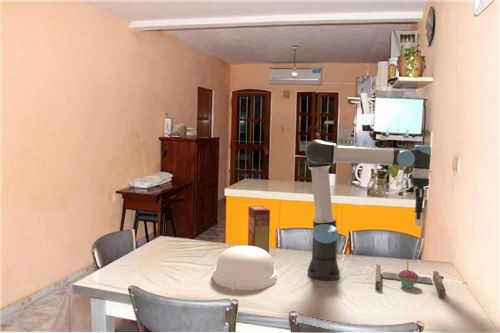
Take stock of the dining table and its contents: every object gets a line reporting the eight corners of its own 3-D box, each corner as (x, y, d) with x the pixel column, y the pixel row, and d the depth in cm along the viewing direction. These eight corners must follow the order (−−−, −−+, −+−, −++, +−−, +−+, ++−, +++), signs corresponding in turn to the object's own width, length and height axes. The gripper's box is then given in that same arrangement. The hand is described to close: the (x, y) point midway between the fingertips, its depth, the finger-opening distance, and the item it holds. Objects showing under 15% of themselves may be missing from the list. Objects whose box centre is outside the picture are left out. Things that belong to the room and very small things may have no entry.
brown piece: (375, 289, 185) (375, 280, 184) (376, 272, 207) (376, 264, 207) (444, 299, 176) (445, 289, 176) (437, 279, 199) (438, 271, 199)
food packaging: (246, 248, 242) (248, 205, 240) (262, 247, 244) (263, 205, 242) (253, 255, 229) (254, 210, 227) (269, 254, 232) (271, 209, 229)
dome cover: (227, 263, 215) (227, 236, 213) (284, 271, 206) (285, 243, 205) (201, 285, 184) (201, 254, 183) (266, 295, 175) (267, 262, 174)
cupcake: (394, 282, 194) (396, 257, 193) (412, 282, 195) (414, 257, 194) (403, 289, 185) (404, 263, 184) (421, 289, 186) (423, 263, 185)
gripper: (430, 179, 194) (427, 229, 196) (427, 176, 207) (424, 223, 209) (413, 178, 196) (410, 227, 199) (411, 175, 209) (408, 222, 211)
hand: (417, 225), depth 204 cm, fingers closed
